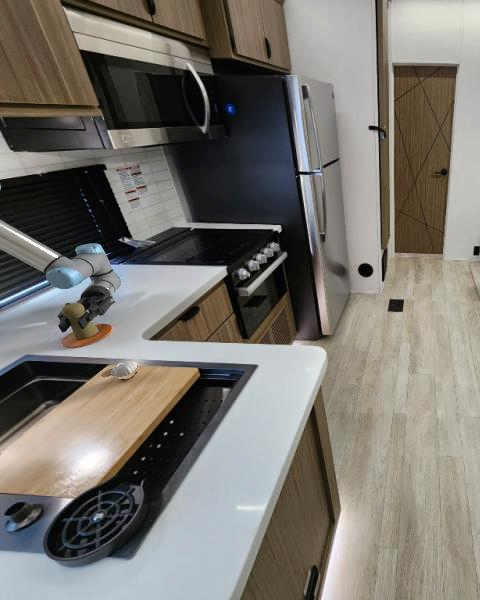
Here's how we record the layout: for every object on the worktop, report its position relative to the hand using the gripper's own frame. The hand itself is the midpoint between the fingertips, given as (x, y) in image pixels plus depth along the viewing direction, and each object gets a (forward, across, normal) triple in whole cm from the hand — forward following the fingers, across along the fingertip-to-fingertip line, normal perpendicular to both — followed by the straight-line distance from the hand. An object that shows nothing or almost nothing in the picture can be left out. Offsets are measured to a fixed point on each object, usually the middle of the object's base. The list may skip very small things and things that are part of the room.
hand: (71, 327), depth 102 cm
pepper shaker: (-5, 0, -6) cm, 8 cm away
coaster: (-5, 0, -7) cm, 9 cm away
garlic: (+24, -18, -7) cm, 31 cm away
